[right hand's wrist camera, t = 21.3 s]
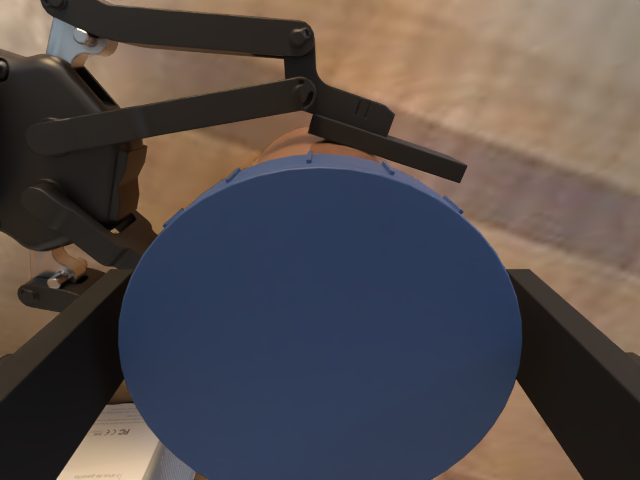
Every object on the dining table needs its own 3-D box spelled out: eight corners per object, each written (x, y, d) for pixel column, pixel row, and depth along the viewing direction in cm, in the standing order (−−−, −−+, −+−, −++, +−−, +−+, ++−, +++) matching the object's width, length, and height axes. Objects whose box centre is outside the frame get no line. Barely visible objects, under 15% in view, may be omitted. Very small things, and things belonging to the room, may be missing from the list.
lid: (75, 326, 12) (33, 366, 10) (318, 58, 10) (317, 51, 8) (319, 500, 15) (319, 556, 13) (564, 324, 12) (605, 364, 10)
